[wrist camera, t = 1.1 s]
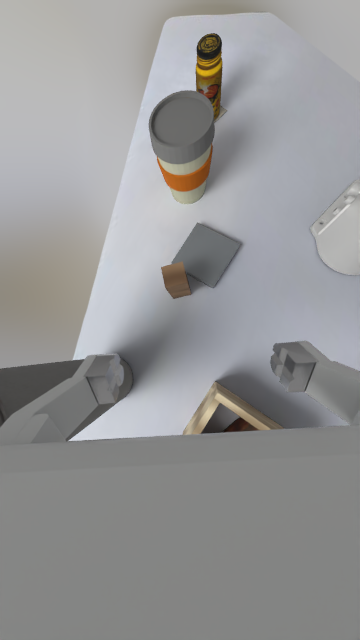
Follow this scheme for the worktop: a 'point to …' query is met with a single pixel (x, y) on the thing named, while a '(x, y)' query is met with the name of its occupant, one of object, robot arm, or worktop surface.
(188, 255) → the slate coaster
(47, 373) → the canister
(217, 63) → the condiment
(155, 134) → the reusable coffee cup
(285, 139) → the worktop surface
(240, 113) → the worktop surface
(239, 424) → the brown rounded bar
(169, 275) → the walnut block
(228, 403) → the bamboo organizer
